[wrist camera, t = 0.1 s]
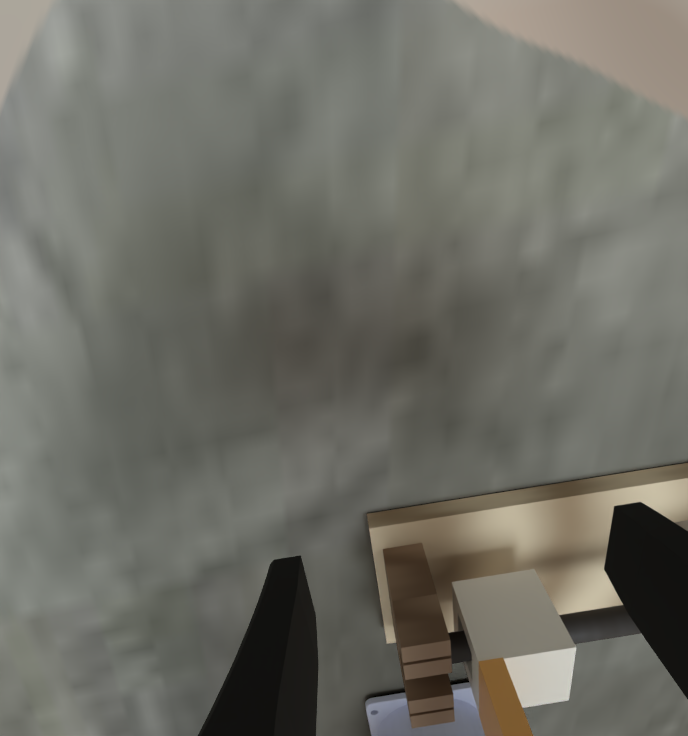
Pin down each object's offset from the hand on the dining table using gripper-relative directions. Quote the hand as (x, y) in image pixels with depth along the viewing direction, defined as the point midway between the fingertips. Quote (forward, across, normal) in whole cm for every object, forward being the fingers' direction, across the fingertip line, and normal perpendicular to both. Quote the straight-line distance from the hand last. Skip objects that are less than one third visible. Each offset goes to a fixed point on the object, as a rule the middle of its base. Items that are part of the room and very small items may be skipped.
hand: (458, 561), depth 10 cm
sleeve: (+8, -4, +12) cm, 15 cm away
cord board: (+10, -7, +12) cm, 17 cm away
